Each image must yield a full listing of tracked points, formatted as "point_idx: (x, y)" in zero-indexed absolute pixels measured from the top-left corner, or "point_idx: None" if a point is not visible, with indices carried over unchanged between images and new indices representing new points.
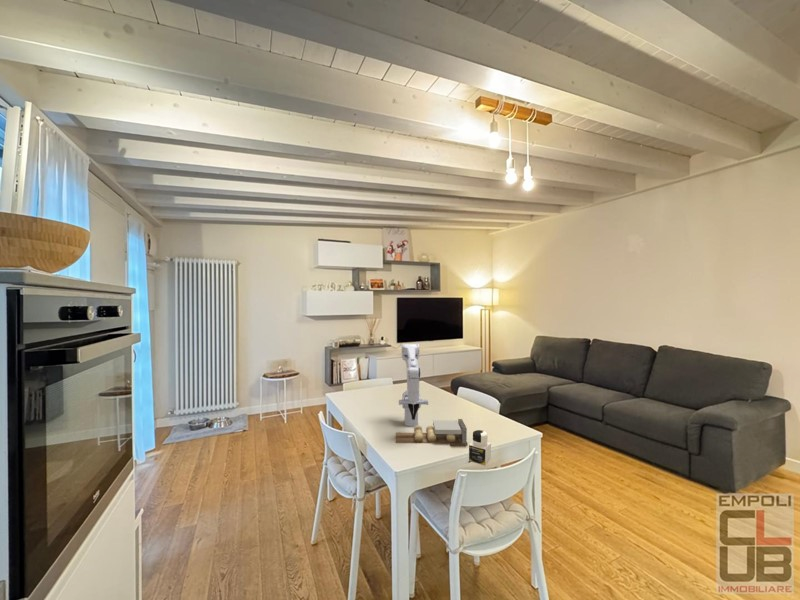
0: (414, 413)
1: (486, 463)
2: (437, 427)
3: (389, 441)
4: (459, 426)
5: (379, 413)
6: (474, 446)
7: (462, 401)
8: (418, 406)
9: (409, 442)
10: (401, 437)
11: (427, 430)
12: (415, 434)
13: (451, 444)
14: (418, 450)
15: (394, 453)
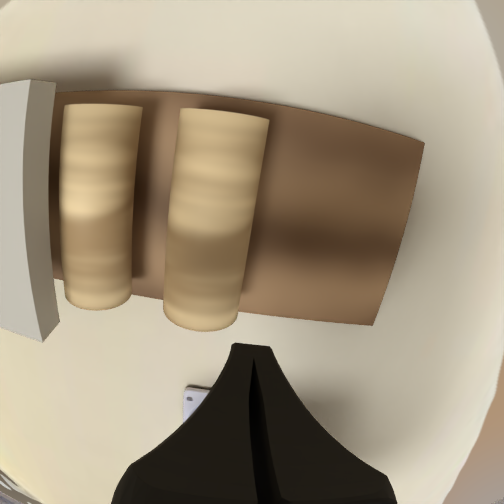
0: (238, 400)
1: None
2: (3, 144)
3: (438, 213)
4: None
5: None
6: None
7: (38, 494)
8: (121, 501)
9: (315, 123)
10: (359, 235)
11: (114, 231)
12: (258, 141)
13: None
14: (257, 16)
15: (433, 24)
